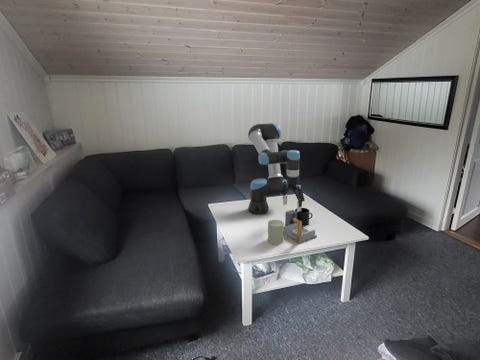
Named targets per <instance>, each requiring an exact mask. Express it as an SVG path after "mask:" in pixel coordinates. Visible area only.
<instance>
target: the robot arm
mask: <svg viewBox="0 0 480 360" xmlns="http://www.w3.org/2000/svg"><path fill="white" fill-rule="evenodd" d="M281 131H282V129H281V128H280V125H279V124H278V123H275V122H274V123H272V122H270V123H257V124H254V125H253V126H251V127H250V128H249V130H248V133H247V138H248V140H249V141H250V143H252V144H253V146H254V147H255V149H256V151H257V153H258V163H259V164H260V166H261V165H262V166H263V165H265V166H267V168H268V169H267V170H268V177H267V179H266V178H255V179H253V180H252V181H251V182H250V187H249V188H250V194H249V195H250V200H249V205H248V206H247V207H248V208H247V210H248V213H249V214H253V215H264V214H268V213H269V211H270V207H269V205H268V200H267V198H268V197H281V196H282V205H283V206H285V205H288V193H289V191H292V192H293V193H294V195H295V197H296V199H297V203H296V205H297V206H296V208H297V212H299V211H301V208H303V202H305V196H304V192H303V189H302V185H301V184H298V183H299V182H300V159H301V156H300V151H299V150H296V149H294V150H293V149H291V150H290V149H289V150H286V149H284V150H281V151H279V146H278V142H279V141H280V138H281V135H282V132H281ZM281 164H286V179H285V178H284V176H283V175H282V171H281Z"/></svg>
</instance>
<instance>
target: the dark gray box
mask: <svg viewBox="0 0 480 360" xmlns="http://www.w3.org/2000/svg"><path fill="white" fill-rule="evenodd" d="M293 218H296V219H297V212H296V211H295V209H291V210H288V211H285V219H284V221H285V223H284V227H285V226H287V225H290V224H293V223H297V222H295V221H293Z"/></svg>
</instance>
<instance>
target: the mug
mask: <svg viewBox="0 0 480 360" xmlns="http://www.w3.org/2000/svg"><path fill="white" fill-rule="evenodd" d="M294 211H296V212H297V207H296V208H295V209H294ZM310 215H311V216H310ZM313 216H314V215H313V213H312V212H310V209H308V208H305V207H301V211H299V212H297V219H298V220H300V221H302V227H303V226H304V227H305V226H308V225H309V223H310V219H312V218H313Z"/></svg>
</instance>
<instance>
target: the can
mask: <svg viewBox="0 0 480 360" xmlns="http://www.w3.org/2000/svg"><path fill="white" fill-rule="evenodd" d="M284 227H285V223H284V222H283V221H282V220H279V219H272V220H269V221H268V222H267V242H268V243H269V244H270V245H274V246H276V245H277V246H278V245H280V244H283V243H284V234H283V230H284Z"/></svg>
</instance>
